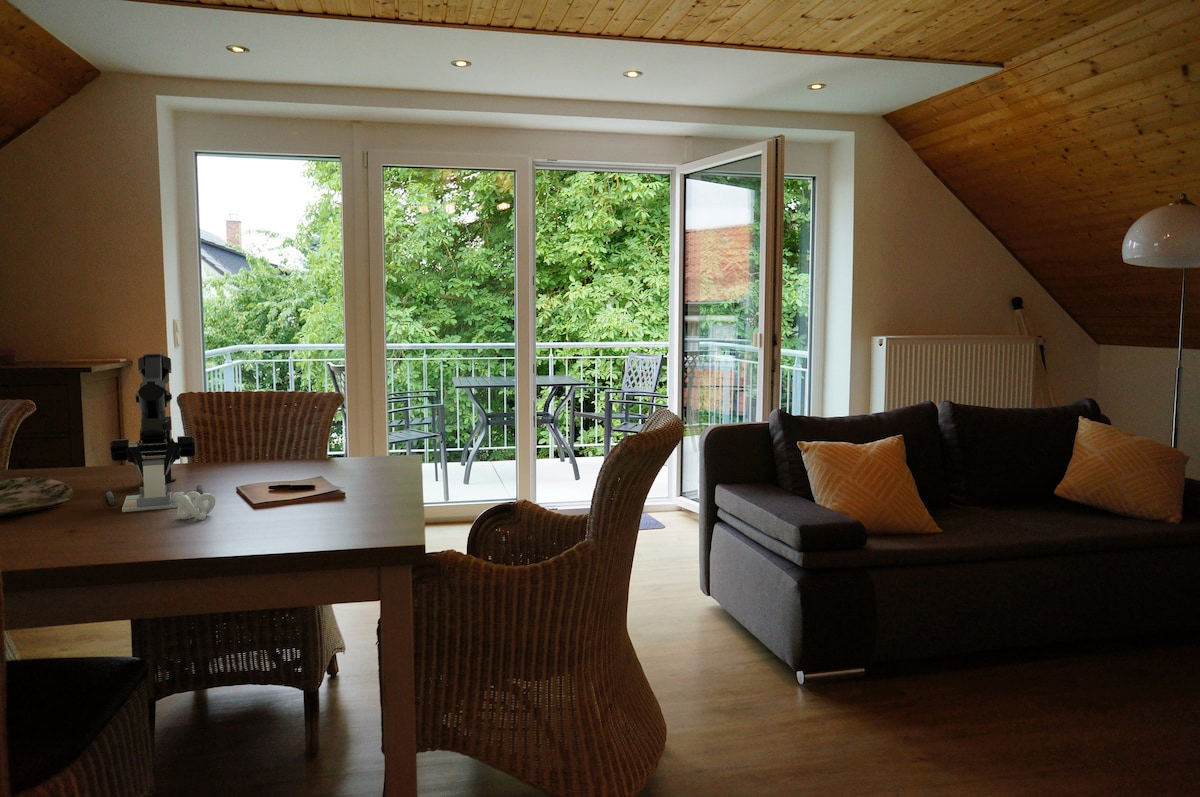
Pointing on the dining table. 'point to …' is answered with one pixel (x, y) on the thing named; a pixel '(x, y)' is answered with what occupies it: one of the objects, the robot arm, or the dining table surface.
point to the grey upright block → (154, 478)
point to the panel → (152, 501)
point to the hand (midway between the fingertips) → (153, 475)
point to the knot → (195, 505)
